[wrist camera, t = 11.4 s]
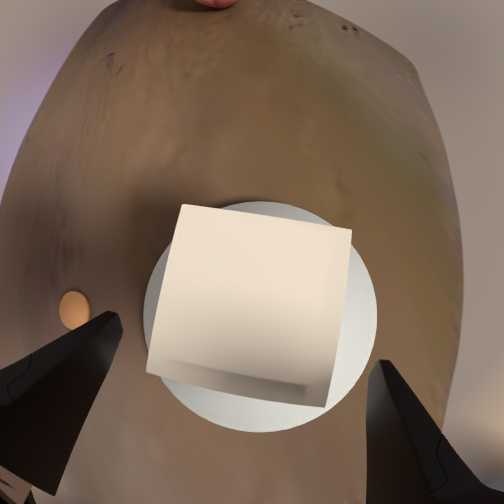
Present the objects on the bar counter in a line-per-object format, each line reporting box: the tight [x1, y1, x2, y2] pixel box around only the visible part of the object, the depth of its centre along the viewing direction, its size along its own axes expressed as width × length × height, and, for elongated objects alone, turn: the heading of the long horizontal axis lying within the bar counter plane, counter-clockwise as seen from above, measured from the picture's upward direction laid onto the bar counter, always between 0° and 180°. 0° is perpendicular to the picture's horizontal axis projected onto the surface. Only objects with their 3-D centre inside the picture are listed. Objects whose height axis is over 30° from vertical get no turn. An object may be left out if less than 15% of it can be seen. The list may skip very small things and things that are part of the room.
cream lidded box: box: [146, 204, 352, 408], centre depth 14 cm, size 6×6×10 cm
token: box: [59, 291, 91, 330], centre depth 20 cm, size 3×3×1 cm
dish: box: [143, 201, 377, 432], centre depth 19 cm, size 16×16×2 cm
